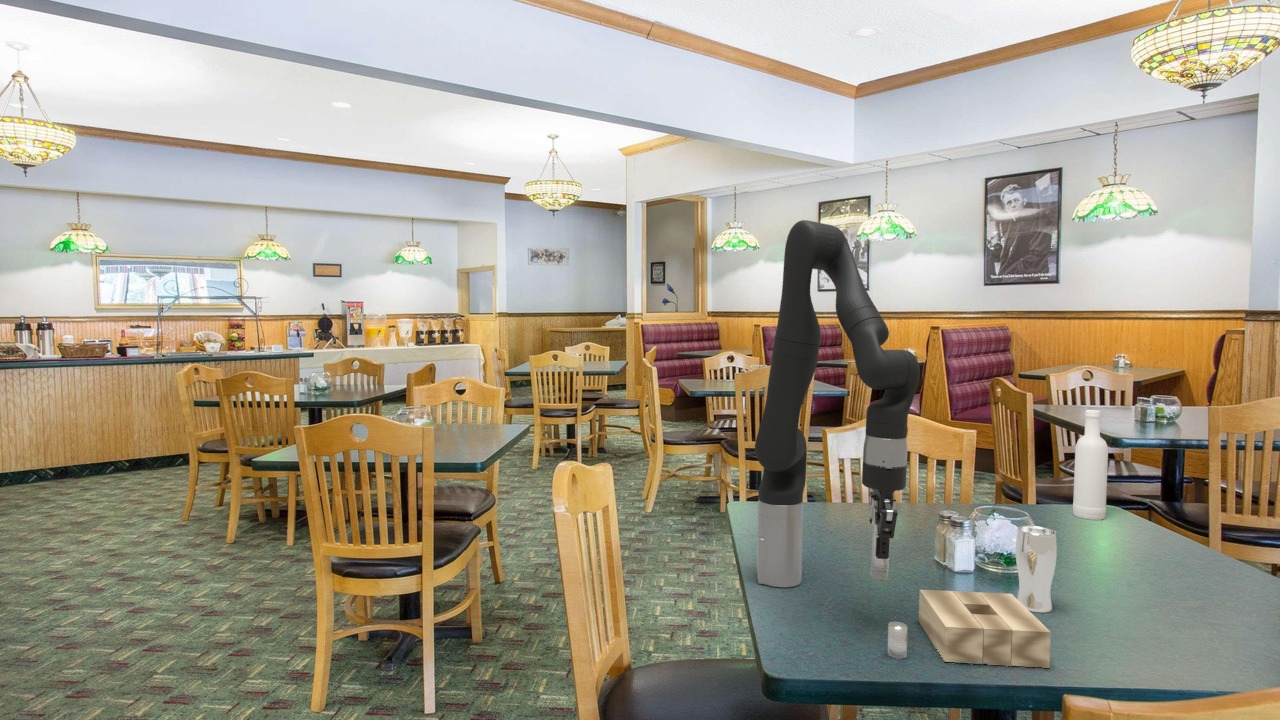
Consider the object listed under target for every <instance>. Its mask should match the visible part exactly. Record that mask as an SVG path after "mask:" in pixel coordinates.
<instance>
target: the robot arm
mask: <svg viewBox="0 0 1280 720" xmlns="http://www.w3.org/2000/svg"><path fill="white" fill-rule="evenodd" d="M813 270H818V271H823V272H824V273H825V274H826V275H827V277H829V279H830V280H831V282H832V283H833V285H834V287H835V293H836V295H835V312H836V316H837V319H838V321H839V324H840V326H841V327H842V329H843V331H844V332H845V334H846V336H847V338H848V340H849V342H850V344H851V347H852V352H853V356H854V361H855V367H856V371H857V375H858V376H859V378H860V380H861V382H863V383H864V385H866V386H867V387H868V388H870V389H873V390H877V391H879V390H885V391H884V393H883V395H882V398H881V399H880V400H877V401H875V402H872V403H871V404H869V405H868V407H867V409H866V416H865V417H866V418H865V438H864V443H863V446H862V448H863V449H862V469H861V470H862V471H861V484H862V485H863V486H864V487H866V488H868V489H871V490H872V491H870V492H869V493H868V497H869V500H868V501H869V523H870V528H871V531H873V522H874V523H875V524H876V551H875V555H876V557H877V558H878V559H888V558H889V559H890V548H889V543H890V542H891V540H892V539H894V537H895V531H896V524H897V519H898V514H899V513H898V510H897V500H896V499H894V493H895V492H897V491H899V492H900V491H902V490H904V489H905V488H906V486H907V468H908V440H907V439H908V437H907V436H908V419H909V416H908V415H909V412H910V410H911V407H912V404H913V401H914V398H915V395H916V391H917V389H918V385H919V382H920V376H921V373H920V372H921V370H920V364H919V362H918V359H917V357H916V356H915V354H914V353H913V352H911V351H909V350H906V349H884V348H883V347H882V346H883V345H884V344H885V343H886V341H888V338H889V336H890V332H889V328H888V326H887V323H886V322H885V321H884V319H883V317H882V316H881V314H880V312H879V310H878V309H877V307H876V305H875V304H874V302H873V300H872V299H871V297H870V295H869V293H868V291H867V289H866V287H865V284H864V282H863V280H862V277H861V274H860V271H859V269H858V265H857V263H856V259H855V258H854V255H853V253H852V249H851V247H850V245H849V242H848V239H847V237H846V235H845V234H844V232H843V230H841V229H840V228H839V227H837V226H834V225H833V224H832V225H831V224H827V223H823V222H818V221H812V220H804V219H803V220H799V221H797V222H795V223H794V224H793V225H792V227H791V228H790V230H789V233H788V235H787V238H786V241H785V248H784V257H783V270H782V271H783V273H782V284H781V285H782V288H781V297H780V304H779V311H778V312H779V313H778V318H777V326H776V330H775V335H774V339H773V347H772V352H771V359H770V360H771V361H770V367H769V368H770V369H769V374H768V381H767V389H766V390H767V392H766V401H765V405H764V410H763V413H762V417H761V420H760V424H759V428H758V432H757V435H756V439H755V444H754V452H755V453H754V454H755V455H756V459H757V461H758V463H759V464H760V465H761V467H762V468H763V472H762V478H761V480H760V484H759V485H758V493H757V494H758V496H757V497H758V499H757V500H758V501H757V502H758V505H757V508H758V509H757V514H758V515H757V516H758V517H757V519H758V521H757V532H756V533H757V534H756V537H757V539H756V543H757V544H756V577H757V584H759V585H761V584H762V585H766V586H768V587H774V588H775V587H776V588H792V587H796V586H798V585H801V583H802V577H803V575H802V574H803V569H802V568H803V565H802V564H803V514H804V513H803V509H804V507H803V506H804V505H803V504H804V501H803V500H804V499H803V498H804V490H805V486H806V480H807V479H806V478H807V458H808V457H807V456H808V449H807V447H808V446H807V440H806V437H805V434H804V433H803V432H802V430H801V429H800V428H799V423H800V421H799V420H800V416H801V409H802V406H803V403H804V400H805V397H806V395H807V392H808V390H809V389H810V385H811V382H812V380H813V378H814V375H815V372H816V368H817V364H818V359H819V354H820V353H819V352H820V348H821V347H820V346H821V340H822V333H821V327H820V324H819V320H818V319H819V318H818V317H817V314H816V311H815V308H814V304H813V300H812V295H811V285H812V274H813ZM878 518H880V520H878ZM884 528H887V531H883V529H884ZM871 534H872V537H873V533H871ZM890 544H891V543H890Z"/></svg>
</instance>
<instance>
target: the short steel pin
mask: <svg viewBox="0 0 1280 720" xmlns="http://www.w3.org/2000/svg"><path fill="white" fill-rule="evenodd" d="M887 625H888V626H887V655H888V657H890V656H891V657H890V658H892V657H893V658H892V659H895V658H896V660H904V659H903V658H905V659H907V657H908V655H907V654H908V625H907V624H906V623H903V622H900V621H890V622H888V624H887Z"/></svg>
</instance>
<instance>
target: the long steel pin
mask: <svg viewBox="0 0 1280 720" xmlns="http://www.w3.org/2000/svg"><path fill="white" fill-rule="evenodd" d="M878 520H880V518H878ZM883 531H887V528H884V529H883ZM872 534H873V537H872V538H871V560H870V561H871V563H870V578H872V579H875V580H878V581H887V580H888V579H889V568H890V567H889V566H890V565H889V564H890V563H889V562H890V557H889V558H888V559H878V558H877V557H876V555H875V551H876V524H875V523H874V522H873V530H872ZM890 544H891V543H889V549H891V548H890Z"/></svg>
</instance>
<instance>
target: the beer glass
mask: <svg viewBox="0 0 1280 720" xmlns="http://www.w3.org/2000/svg"><path fill="white" fill-rule="evenodd" d="M1016 533H1017V534H1016V540H1015V560H1016V561H1015V562H1016V568H1017V575H1018V582H1019V583H1018V584H1019V587H1018V592H1017V593H1018V594H1017V597H1016V599H1017V600H1018V601H1020V602H1021V603H1022V604H1023V605H1024V606H1025V607H1026V608H1027V609H1028V610H1029V611H1030V612H1031V613H1041V614H1043V613H1049V612H1052V610H1053V605H1052V599H1051V587H1052V583H1053V578H1054V575H1055V571H1056V566H1057V565H1056V564H1057V558H1058V546H1057V545H1058V543H1057V541H1058V539H1057V531H1056V530H1054V529H1052V528H1051V529H1050V528H1049V527H1044V526H1039V525H1020V526H1018V527H1017V532H1016Z"/></svg>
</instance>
